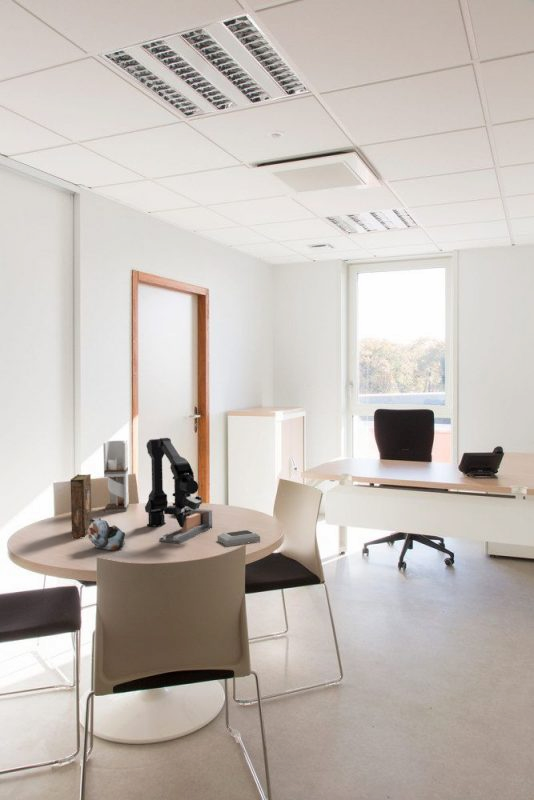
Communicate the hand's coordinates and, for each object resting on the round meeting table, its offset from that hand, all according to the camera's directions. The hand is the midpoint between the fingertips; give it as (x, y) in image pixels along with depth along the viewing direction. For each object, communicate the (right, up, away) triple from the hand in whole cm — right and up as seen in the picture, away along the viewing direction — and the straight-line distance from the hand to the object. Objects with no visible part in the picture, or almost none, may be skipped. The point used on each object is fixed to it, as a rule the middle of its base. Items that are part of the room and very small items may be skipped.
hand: (181, 527), depth 268 cm
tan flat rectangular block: (+3, -3, +7) cm, 8 cm away
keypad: (+25, -5, -8) cm, 26 cm away
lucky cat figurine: (-28, -5, -16) cm, 32 cm away
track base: (+2, -4, +4) cm, 6 cm away
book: (-45, -5, +7) cm, 46 cm away
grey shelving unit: (-41, -3, +57) cm, 70 cm away
